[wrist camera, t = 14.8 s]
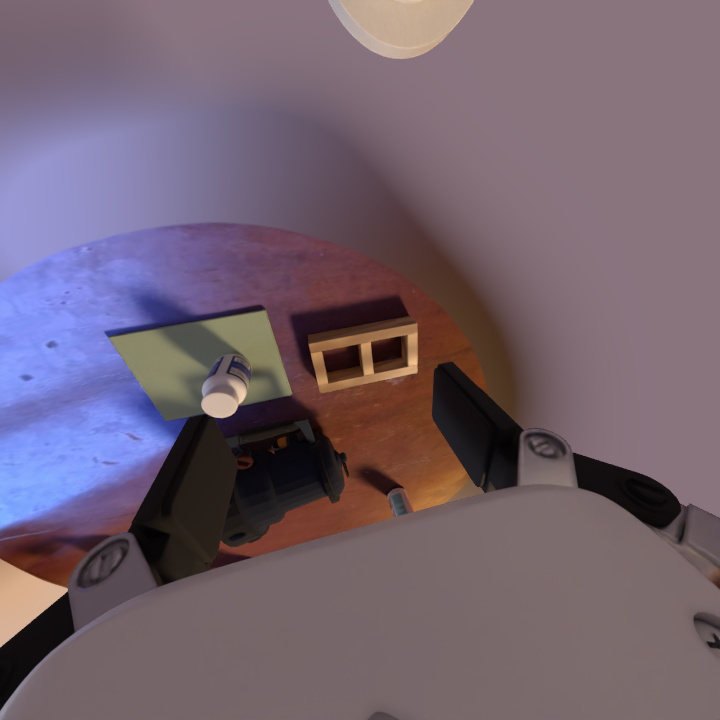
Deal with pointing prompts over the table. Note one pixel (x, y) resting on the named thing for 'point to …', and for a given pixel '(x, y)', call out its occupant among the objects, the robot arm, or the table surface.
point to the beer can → (399, 502)
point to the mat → (202, 360)
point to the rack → (365, 353)
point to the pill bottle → (226, 385)
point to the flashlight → (279, 478)
